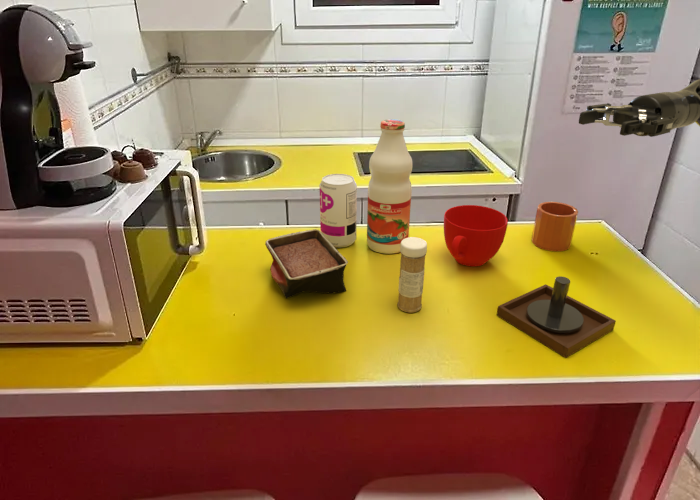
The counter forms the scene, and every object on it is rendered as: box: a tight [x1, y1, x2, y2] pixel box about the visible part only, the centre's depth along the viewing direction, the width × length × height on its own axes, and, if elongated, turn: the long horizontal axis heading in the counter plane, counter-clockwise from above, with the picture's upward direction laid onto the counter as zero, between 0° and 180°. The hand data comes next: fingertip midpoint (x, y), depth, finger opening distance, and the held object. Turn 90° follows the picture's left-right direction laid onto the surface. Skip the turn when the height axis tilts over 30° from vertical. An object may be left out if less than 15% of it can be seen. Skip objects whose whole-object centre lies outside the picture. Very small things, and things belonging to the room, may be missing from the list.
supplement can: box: [318, 173, 358, 249], centre depth 116 cm, size 8×8×15 cm
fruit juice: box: [366, 118, 413, 255], centre depth 111 cm, size 9×9×28 cm
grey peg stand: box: [527, 275, 584, 333], centre depth 90 cm, size 9×9×8 cm
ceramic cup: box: [443, 204, 509, 267], centre depth 108 cm, size 13×17×10 cm
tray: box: [496, 284, 617, 359], centre depth 91 cm, size 14×13×2 cm
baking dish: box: [264, 228, 349, 299], centre depth 102 cm, size 14×18×10 cm
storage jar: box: [531, 201, 579, 252], centre depth 117 cm, size 8×8×8 cm
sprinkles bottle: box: [397, 236, 428, 314], centre depth 93 cm, size 5×5×13 cm
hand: (601, 123), depth 92 cm, fingers open, 8 cm apart
